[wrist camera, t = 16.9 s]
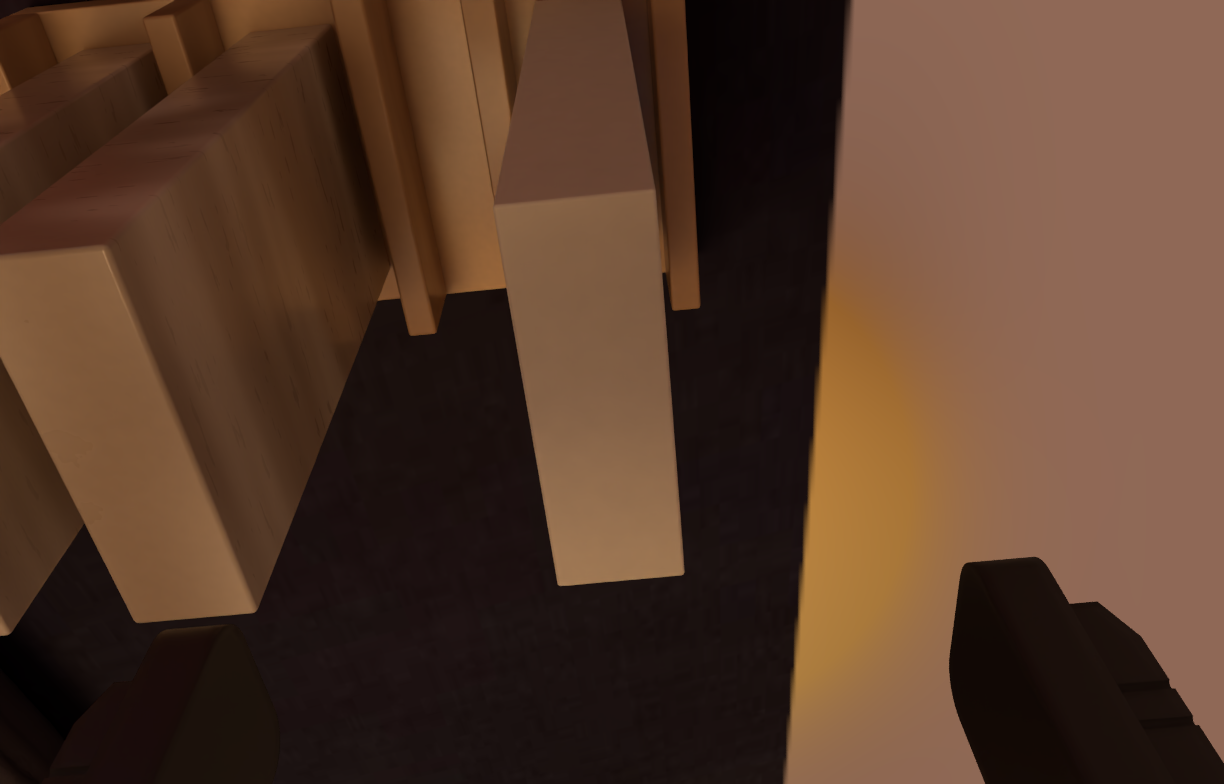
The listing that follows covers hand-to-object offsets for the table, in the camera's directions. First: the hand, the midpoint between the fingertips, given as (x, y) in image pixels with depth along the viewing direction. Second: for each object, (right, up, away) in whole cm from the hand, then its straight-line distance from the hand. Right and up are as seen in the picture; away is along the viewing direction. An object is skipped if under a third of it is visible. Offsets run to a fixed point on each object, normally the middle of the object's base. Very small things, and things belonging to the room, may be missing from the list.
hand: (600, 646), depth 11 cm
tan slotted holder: (-6, +10, +17) cm, 20 cm away
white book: (0, +10, +16) cm, 19 cm away
